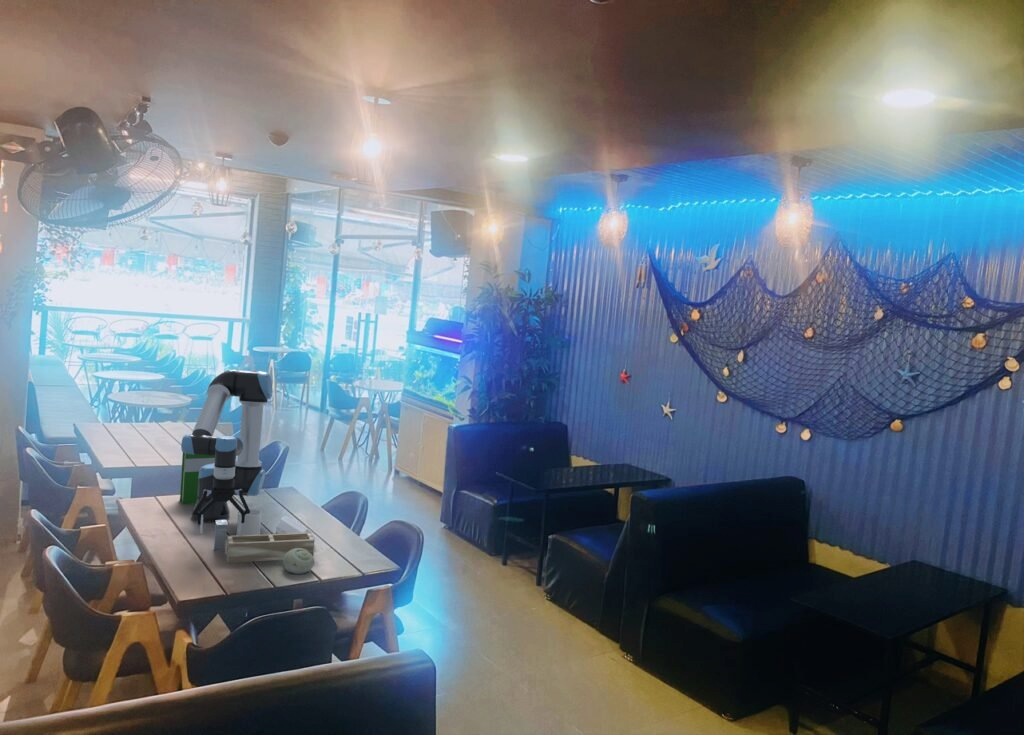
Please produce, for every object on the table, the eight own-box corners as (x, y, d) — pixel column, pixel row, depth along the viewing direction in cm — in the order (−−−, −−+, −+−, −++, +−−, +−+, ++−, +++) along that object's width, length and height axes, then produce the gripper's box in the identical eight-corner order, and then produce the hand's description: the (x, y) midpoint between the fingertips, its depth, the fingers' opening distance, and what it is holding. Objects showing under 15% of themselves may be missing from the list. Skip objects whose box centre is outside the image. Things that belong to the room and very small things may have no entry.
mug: (260, 542, 289) (262, 515, 289) (237, 543, 286) (239, 515, 285) (257, 532, 300) (259, 506, 299) (234, 533, 296) (236, 507, 295)
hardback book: (182, 504, 328) (186, 452, 326) (179, 500, 334) (182, 448, 332) (223, 501, 338) (227, 451, 336) (220, 497, 344) (223, 447, 342)
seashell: (319, 552, 264) (294, 553, 257) (316, 574, 263) (290, 576, 256) (303, 545, 273) (278, 545, 266) (300, 566, 272) (274, 567, 266)
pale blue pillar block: (213, 547, 278) (215, 520, 278) (224, 547, 280) (226, 519, 279) (214, 553, 273) (216, 524, 272) (225, 552, 275) (227, 524, 274)
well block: (226, 553, 274) (227, 535, 273) (309, 549, 286) (310, 532, 286) (227, 562, 265) (229, 544, 264) (313, 558, 278) (314, 540, 277)
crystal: (269, 523, 302) (295, 540, 285) (284, 513, 306) (311, 529, 289) (277, 537, 305) (303, 554, 288) (291, 526, 309) (318, 543, 292)
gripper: (188, 479, 267) (184, 536, 268) (259, 479, 277) (255, 533, 278) (188, 475, 273) (184, 530, 275) (257, 474, 284) (254, 528, 285)
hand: (220, 532), depth 276 cm, fingers open, 13 cm apart
